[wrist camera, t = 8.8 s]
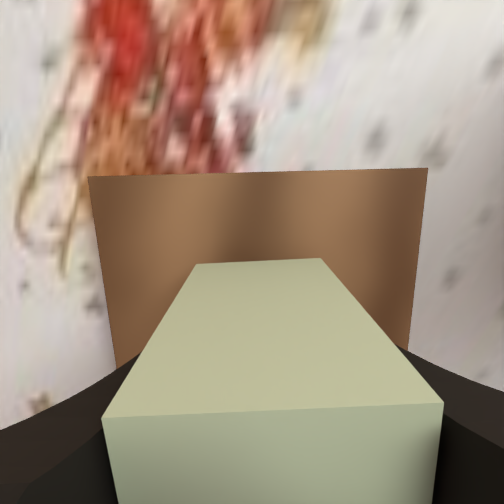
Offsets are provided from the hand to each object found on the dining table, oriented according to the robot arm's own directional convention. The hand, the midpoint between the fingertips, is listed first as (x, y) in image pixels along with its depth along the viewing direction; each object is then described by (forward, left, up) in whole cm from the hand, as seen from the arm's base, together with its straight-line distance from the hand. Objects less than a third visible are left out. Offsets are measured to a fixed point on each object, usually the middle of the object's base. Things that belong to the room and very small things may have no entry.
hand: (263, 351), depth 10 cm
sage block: (0, 0, -2) cm, 2 cm away
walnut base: (0, 0, -6) cm, 6 cm away
